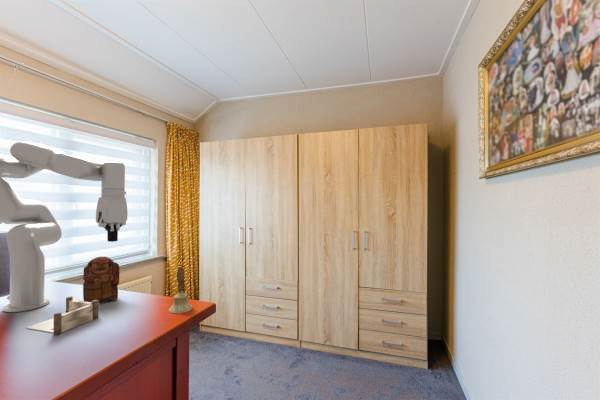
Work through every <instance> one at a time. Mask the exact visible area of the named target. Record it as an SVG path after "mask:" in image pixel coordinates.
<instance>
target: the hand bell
mask: <svg viewBox="0 0 600 400" xmlns="http://www.w3.org/2000/svg"><path fill="white" fill-rule="evenodd" d="M184 280H185V272H184V269H183V266H179V267H178V268H177V272H176V281H177V283H178V284H177V285H178V288H177V291H178V292H177V294H175V295H173V296H174V298H173V303H172V305H171V307H169V308H168V313H170V314H173V315H179V314H181V315H182V314H186V313H189V312H190V311H192V310H193V305H191V304H190V302H189V298H188V294H187V293H186V292H185V293H184V282H185V281H184Z"/></svg>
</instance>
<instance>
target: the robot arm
mask: <svg viewBox="0 0 600 400" xmlns="http://www.w3.org/2000/svg"><path fill="white" fill-rule="evenodd" d="M9 152H10V154H11V155H3V154H0V222H1V223H3V224H5V225H15V226H13V227H12V228H10V229H9V230H8V232H7V234H6V236H5V237H6V244H7V248H8V252H9V296H7V297H6V300H8V301H9V303H8V304H6V305H5V306H4V307H3V312H6V313H19V312H26V311H27V312H28V311H31V310H35V309H39V308H42V307H44V306H47V305H48V304H50V298H49V297H45V268H46V267H45V264H46V263H45V255H44V252H43V251H42V250H41V247H44V246H50V245H54V244H56V243H58V242H59V241H60V239H61V238H62V232H63V231H62V229H61V226H60V225H59V223H58V221H57V220H56V218H55V216H54V215H53V213H52V212H51V210H50V209H49V208H48V206H47V205H46V204H45V203H43V202H41V201H39V200H35V199H23V198H22V197H21V196H20V195H19V193H18V192H17V190H16V189H15V188H14V186H12V184H11V183H9V182H8V181H6V180H5V179H3V178H9V179H25V178H28V177H31V176H33V175H35V174H37V173H39V172H41V171H44V170H47V171H51V172H53V173H56V174H59V175H62V176H66V177H70V178H72V179H78V180H83V181H91V182H100V183H101V185H100V186H101V189H100V190H101V194H100V195H101V197H98V200H97V204H96V211H95V222H96V223H97V224H98V225H97V226H98V227H100V228H104V229H105V231H106V233H107V237H106V238H107V242H109V243H110V242H112V243H115V242H118V235H119V231H120V228H121V227H123V226H125V225H126V224H127V221H128V205H127V204H128V203H127V199H126V197H125V195H127V191H126V190H125V182H126V179H125V178H126V166H125V164H124V163H123V162H119V161H103V162H100V161H95V160H91V159H85V158H81V157H77V156H73V155H69V154H67V153H65V152H64V150H63V151H62V150H61V149H56V148H54V147H51V146H48V145H45V144H42V143H37V142H36V143H35V142H32V141H25V140H23V141H17V142H15V143H13V144H11V147H10V149H9Z"/></svg>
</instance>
